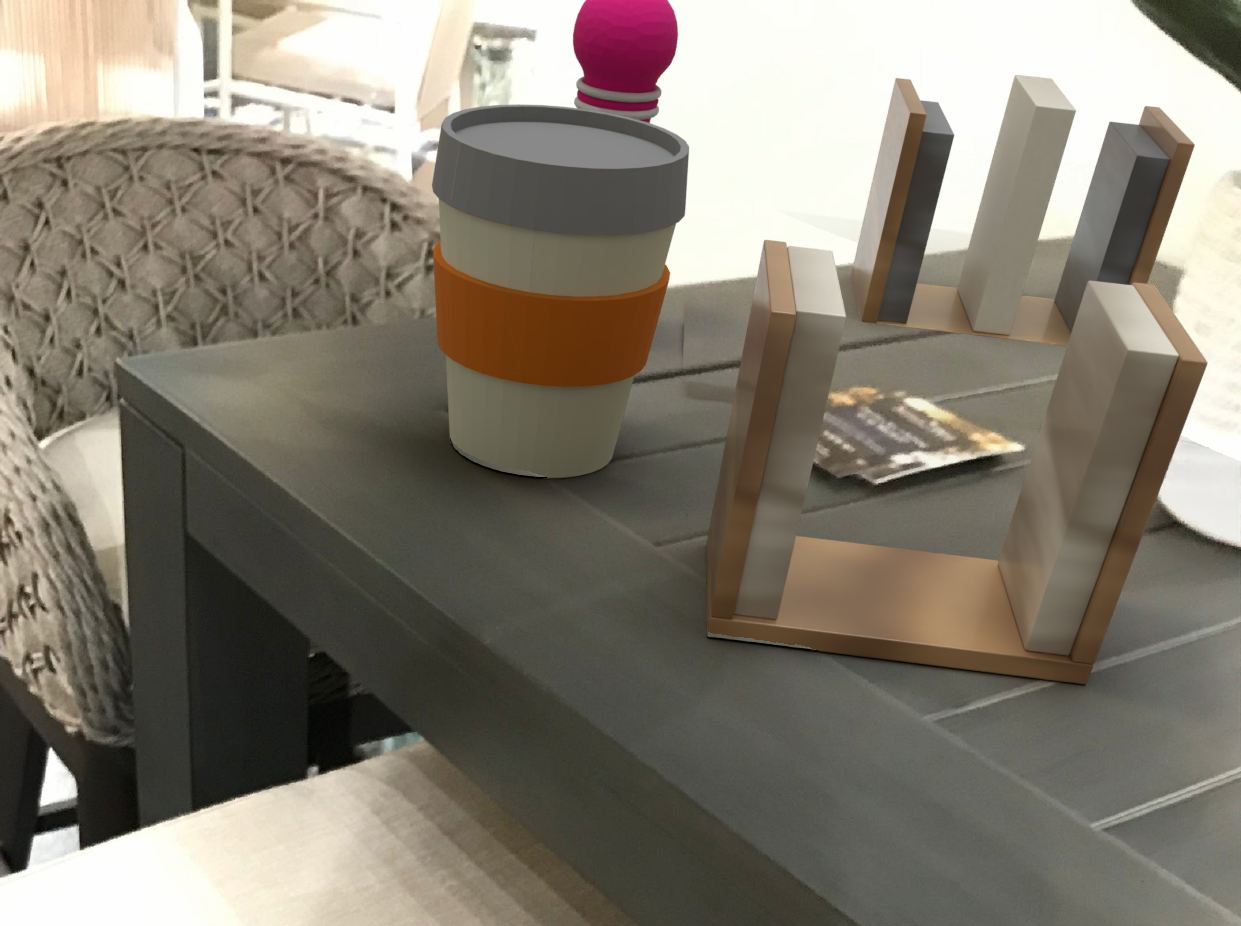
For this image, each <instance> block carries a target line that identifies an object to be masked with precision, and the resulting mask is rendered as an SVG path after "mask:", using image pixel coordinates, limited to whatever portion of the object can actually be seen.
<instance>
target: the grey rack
mask: <svg viewBox="0 0 1241 926" xmlns="http://www.w3.org/2000/svg"><path fill="white" fill-rule="evenodd" d="M891 92H892V93H891V96H890V99H889V100H890V101H889V105H888V109H887V113H886V117H885V123H884V127H883V131H882V137H881V139H880V140H881V141H880V144H879V145H880V146H879V150H878V153H877V159H876V162H875V167H874V172H873V176H872V179H871V180H872V181H871V184H870V189H869V193H868V198H867V202H866V206H865V211H864V216H863V220H862V224H861V228H860V233H859V237H858V242H857V247H856V251H855V255H854V260H853V264H852V268H851V273H850V279H851V283H852V288H853V293H854V297H855V301H856V306H857V310H858V315H859V318H860V319H859V320H860V322H861V323H868V324H877V325H886V326H893V327H901V328H902V327H903V328H912V329H918V330H919V329H920V330H929V331H937V332H945V333H954V334H962V335H971V336H977V337H987V338H997V339H1003V340H1005V339H1006V340H1012V341H1013V340H1014V341H1022V342H1023V341H1024V342H1029V343H1037V344H1038V343H1039V344H1047V345H1055V346H1065V347H1067V345H1068V342H1069V339H1070V336H1071V333H1072V329H1073V326H1074V323H1075V320H1076V317H1077V314H1078V311H1079V307H1080V304H1081V301H1082V298H1083V295H1084V292H1085V289H1086V286H1087V283H1088V281H1098V282H1107V283H1116V284H1124V285H1132V283H1143V284H1149V280H1150V278H1151V275H1152V271H1153V268H1154V266H1155V264H1156V259H1157V256H1158V254H1159V251H1160V248H1161V245H1162V243H1163V240H1164V237H1165V233H1166V230H1167V227H1168V224H1169V221H1170V219H1171V216H1172V213H1173V210H1174V208H1175V205H1176V201H1177V198H1178V195H1179V193H1180V190H1181V187H1182V183H1183V181H1184V178H1185V175H1186V172H1187V169H1188V166H1189V163H1190V161H1191V157H1192V155H1193V151H1194V148H1195V146H1196V145H1195V143H1194V142H1193V141H1192V139H1190V137H1188V136H1187V134H1185V132H1184V131H1182V129H1181V128H1180V127H1179V126H1178V125H1177V124H1176V123H1175V122H1174V121H1173V120H1172V119H1171V118H1170V117H1169V116H1168V115H1167V114H1166V112H1164V111H1163V109H1162V108H1161V107H1159V106H1150V105H1145V106H1144V107H1143V111H1142V114H1141V117H1140V119H1139V123H1138V124H1134V123H1126V122H1117V121H1109V122H1108V125H1107V128H1106V131H1105V135H1104V138H1103V141H1102V144H1101V147H1100V151H1099V155H1098V157H1097V161H1096V164H1095V166H1094V171H1093V174H1092V177H1091V180H1090V183H1089V185H1088V186H1089V187H1088V190H1087V193H1086V196H1085V199H1084V203H1083V206H1082V209H1081V212H1080V216H1079V219H1078V221H1077V225H1076V229H1075V232H1074V235H1073V237H1072V242H1071V244H1070V248H1069V252H1068V255H1067V258H1066V261H1065V264H1064V268H1063V270H1062V274H1061V278H1060V281H1059V284H1058V287H1057V290H1056V294H1055V297H1054V298H1050V297H1049V298H1048V297H1040V296H1033V295H1032V296H1031V295H1023V294H1022V296H1021V299H1020V302H1019V306H1018V309H1017V313H1016V316H1015V319H1014V323H1013V326H1012V330H1011V333H1010V335H1001V334H992V333H984V332H975V331H973V329H972V326H971V324H970V321H969V318H968V316H967V313H966V311H965V308H964V305H963V303H962V300H961V298H960V295H959V292H958V290H957V288H958V287H954V286H945V285H937V284H930V283H929V284H928V283H920V282H918V281H919V278H920V277H919V276H920V274H921V273H920V272H921V268H922V264H923V261H924V257H925V252H926V250H927V245H928V241H929V237H930V233H931V230H932V225H933V221H934V217H935V214H936V210H937V206H938V202H939V197H940V194H941V190H942V185H943V182H944V178H945V174H946V170H947V167H948V162H949V158H950V155H951V150H952V146H953V142H954V138H955V134H954V131H953V129H952V127H951V125H950V123H949V121H948V119H947V117H946V115H945V113H944V111H943V109H942V107H941V105H940V103H939V102H938V101H931V100H921V99H920V96H919V95H918V93H917V90H916V88H915V85H914V84H913V82H912V80H911V79H909V78H901V77H896V78H895V79H894V83H893V87H892V91H891Z"/></svg>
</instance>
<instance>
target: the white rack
mask: <svg viewBox="0 0 1241 926" xmlns="http://www.w3.org/2000/svg"><path fill="white" fill-rule="evenodd" d="M762 244H763V245H762V247H761V248H762V249H761V254H760V260H759V264H758V270H757V275H756V280H755V285H754V291H753V296H752V300H751V301H752V302H751V306H750V312H749V317H748V322H747V327H746V332H745V333H746V334H745V338H744V341H743V342H744V343H743V348H742V354H741V357H740V359H741V360H740V363H739V368H738V369H739V370H738V375H737V380H736V384H735V389H734V390H735V392H734V395H733V400H732V406H731V411H730V417H729V422H728V427H727V431H726V432H727V433H726V437H725V442H724V449H723V454H722V458H721V462H720V463H721V464H720V469H719V474H718V479H717V485H716V490H715V496H714V500H713V505H712V510H711V516H710V522H709V527H708V533H707V538H706V543H705V544H706V545H705V547H706V548H705V550H706V551H705V553H706V554H705V555H706V558H705V559H706V561H705V563H706V564H705V565H706V573H705V574H706V575H705V576H706V577H705V578H706V581H707V584H706V631H707V630H708V632H710V633H713V634H722V635H727V636H732V637H744V638H753V639H755V640H764V641H770V642H774V643H776V642H778V643H784V644H788V645H795V644H797V645H801V646H805V647H810V648H812V649H816V650H819V651H818V652H823V653H831V654H838V655H848V656H854V657H861V658H871V659H877V660H878V659H879V660H887V661H895V662H902V663H911V664H918V665H927V666H935V667H942V668H943V667H944V668H950V669H951V668H952V669H958V670H967V671H975V672H984V673H991V674H1000V675H1007V676H1013V677H1014V676H1015V677H1023V678H1031V679H1040V680H1047V681H1053V682H1054V681H1055V682H1063V683H1069V684H1079V685H1087V684H1088V681H1089V679H1090V677H1091V673H1092V671H1093V668H1094V664H1095V663H1096V660H1097V658H1098V655H1099V652H1100V650H1101V647H1102V644H1103V641H1104V639H1105V636H1106V634H1107V632H1108V629H1109V627H1110V623H1111V621H1112V618H1113V615H1114V612H1115V611H1116V607H1117V604H1118V602H1119V600H1120V596H1121V594H1122V591H1123V588H1124V587H1125V585H1126V581H1127V578H1128V575H1129V573H1130V570H1131V568H1132V565H1133V562H1134V561H1135V557H1136V555H1137V552H1138V549H1139V546H1140V544H1141V541H1142V539H1143V536H1144V534H1145V531H1146V528H1147V526H1148V523H1149V520H1150V517H1151V515H1152V512H1153V509H1154V507H1155V504H1156V502H1157V498H1158V496H1159V494H1160V491H1161V488H1162V486H1163V483H1164V480H1165V478H1166V474H1167V472H1168V469H1169V467H1170V465H1171V462H1172V459H1173V456H1174V454H1175V452H1176V448H1177V446H1178V443H1179V441H1180V438H1181V435H1182V433H1183V431H1184V427H1185V425H1186V422H1187V420H1188V417H1189V414H1190V412H1191V409H1192V406H1193V404H1194V401H1195V399H1196V395H1197V393H1198V391H1199V388H1200V385H1201V383H1202V381H1203V377H1204V375H1205V372H1206V370H1207V369H1206V368H1207V366H1208V361H1207V359H1206V358H1205V356H1204V355H1203V353H1202V352H1201V351H1200V350H1201V349H1199V347H1198V346H1197V345H1196V343H1195V341H1194V340H1193V338H1192V337H1191V336H1190V334H1189V333H1188V331H1187V330H1186V329H1185V327H1184V326H1183V324H1182V323H1181V321H1180V320H1179V319H1178V317H1177V316H1176V314H1175V313H1174V311H1173V310H1172V308H1171V307H1170V305H1169V304H1168V302H1167V300H1166V299H1165V298H1164V297H1163V295H1162V294H1161V292H1160V290H1159V289H1158V288H1157V286H1156V285H1155V284H1151V283H1147V284H1143V283H1132V285H1124V284H1116V283H1107V282H1098V281H1088V283H1087V286H1086V289H1085V292H1084V295H1083V298H1082V301H1081V304H1080V307H1079V311H1078V314H1077V317H1076V320H1075V323H1074V326H1073V329H1072V333H1071V336H1070V339H1069V342H1068V345H1067V346H1066V348H1065V351H1064V355H1063V358H1062V361H1061V364H1060V367H1059V370H1058V373H1057V377H1056V379H1055V383H1054V386H1053V389H1052V391H1051V396H1050V397H1049V398H1050V399H1049V402H1048V405H1047V408H1046V411H1045V415H1044V417H1043V420H1042V424H1041V427H1040V429H1039V433H1038V437H1037V439H1036V443H1035V446H1034V449H1033V452H1032V455H1031V458H1030V461H1029V464H1028V467H1027V471H1026V474H1025V476H1024V480H1023V482H1022V487H1021V489H1020V493H1019V495H1018V499H1017V502H1016V504H1015V508H1014V511H1013V514H1012V518H1011V521H1010V524H1009V526H1008V530H1007V532H1006V533H1007V534H1006V535H1005V540H1004V543H1003V545H1002V549H1001V552H1000V555H999V559H998V560H997V559H989V558H982V557H981V558H980V557H972V556H966V555H965V556H964V555H954V554H948V553H941V552H940V553H939V552H932V551H923V550H915V549H907V548H901V547H900V548H899V547H892V546H891V547H890V546H882V545H874V544H866V543H859V542H858V543H857V542H850V541H841V540H834V539H833V540H832V539H825V538H819V537H818V538H817V537H808V536H801V535H798V530H799V526H800V521H801V517H802V513H803V509H804V504H805V501H806V496H807V492H808V487H809V483H810V478H811V474H812V470H813V465H814V461H815V457H816V451H817V447H818V443H819V439H820V435H821V429H822V427H823V426H822V425H823V421H824V417H825V412H826V408H827V404H828V399H829V395H830V392H831V386H832V382H833V377H834V373H835V368H836V364H837V360H838V356H839V351H840V347H841V342H842V338H843V334H844V330H845V325H846V320H847V313H846V309H845V304H844V300H843V295H842V294H843V293H842V289H841V285H840V281H839V276H838V275H839V274H838V271H837V266H836V261H835V257H834V252H833V251H832V250H831V249H830V250H829V249H821V248H812V247H803V246H797V245H796V246H795V245H788V244H787V242H786V241H779V240H771V239H764V240H763V242H762ZM707 619H708V620H707ZM707 627H708V628H707Z"/></svg>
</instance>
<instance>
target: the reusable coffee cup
mask: <svg viewBox="0 0 1241 926" xmlns="http://www.w3.org/2000/svg"><path fill="white" fill-rule="evenodd" d="M440 125H441V126H440V132H439V137H438V145H437V151H436V156H435V163H434V169H433V176H432V182H431V188H432V192H433V194H434V195H435V196H436V197H437V198H438V213H439V235H440V236H439V237H440V240H439V241H438V242H437V243H436V244H435V245H434V247H433V249H432V257H433V259H432V260H433V277H434V278H433V279H434V298H435V299H434V300H435V301H434V302H435V318H436V320H435V321H436V339H437V346H438V347H439V349H440V350H441V352H442V353H443V354H444V355H445V364H446V365H445V366H446V386H447V407H448V409H447V411H448V427H449V431H448V432H449V439H450V438H451V440H452V441H453V443H454V444H455V445H457V446H458V448H460V449H462V451H463V452H466V453H468V454H470V455H471V456H475V457H476V458H478V459H480V460H483V461H486V462H489V463H490V464H494V465H498V466H501V467H505V468H511V469H518V470H524V471H530V472H532V473H535V474H538V475H543V476H545V477H547V478H546V479H564V478H565V479H566V478H573V477H579V476H584V475H588V474H591V473H594V472H597V471H599V470H601V469H603V468H604V467H605V466H607V465H609V463H610V462H611V461H612V459H613V456H614V453H615V449H616V446H617V442H618V439H619V434H620V432H621V431H620V430H621V427H622V424H623V420H624V416H625V413H626V409H627V406H628V401H629V398H630V395H631V390H632V387H633V383H634V380H635V376H636V375H637V374H638V373H640V372H641V371H642V370H643V369H644V368H645V367H646V365H647V362H648V359H649V354H650V351H651V347H652V345H653V341H654V336H655V332H656V329H657V325H658V322H659V318H660V315H661V311H662V309H663V303H664V300H665V297H666V294H667V289H668V285H669V282H670V279H671V278H670V277H671V272H670V269H669V267H668V265H667V264H666V262H667V257H668V255H669V251H670V248H671V243H672V241H673V236H674V233H675V229H676V225H677V224H678V223H680V222H681V221H682V220H683V218H684V217H685V215H686V205H687V191H688V190H687V189H688V174H689V157H690V146H689V143H687V141H686V140H685V139H684V138H683V137H681V136H680V135H678V134H677V133H675V132H673V131H671V130H669V129H666V128H664V127H662V126H659V125H656V124H653V123H651V122H650V123H648V122H644V121H640V120H637V119H633V118H630V117H625V116H620V115H616V114H611V113H605V112H599V111H593V110H587V109H579V108H577V107H570V106H558V105H544V104H495V105H484V106H477V107H470V108H464V109H462V110H461V109H460V110H458V111H455V112H452V113H450V115H447V116H445V118H444V119H443V120H442V122H441V124H440Z"/></svg>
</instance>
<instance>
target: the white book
mask: <svg viewBox="0 0 1241 926" xmlns="http://www.w3.org/2000/svg"><path fill="white" fill-rule="evenodd" d="M1076 113H1077V109H1076V108H1075V107H1074V105H1073V104H1072V102H1071V101H1070V100H1069V98H1068V97H1067V96H1066V95H1065V94H1064V92H1063V91H1062V90H1061V88H1060V87H1059V86H1058V85H1057V84H1056V82H1055V81H1054V79H1053V78H1050V77H1041V76H1033V75H1022V74H1014V77H1013V81H1012V83H1011V88H1010V91H1009V95H1008V98H1007V101H1006V106H1005V109H1004V113H1003V117H1002V121H1001V124H1000V128H999V132H998V135H997V140H996V143H995V147H994V150H993V154H992V158H991V162H990V166H989V169H988V172H987V177H986V179H985V184H984V187H983V192H982V196H981V199H980V202H979V205H978V209H977V214H976V217H975V221H974V225H973V229H972V232H971V236H970V240H969V244H968V247H967V251H966V254H965V257H964V258H965V259H964V262H963V265H962V269H961V273H960V277H959V280H958V284H957V287H956V288H957V290H958V292H959V295H960V298H961V300H962V303H963V305H964V308H965V311H966V313H967V316H968V318H969V321H970V324H971V326H972V329H973V331H975V332H984V333H992V334H1001V335H1010V333H1011V330H1012V326H1013V323H1014V319H1015V316H1016V313H1017V309H1018V306H1019V302H1020V299H1021V296H1022V295H1023V292H1024V289H1025V285H1026V282H1027V278H1028V276H1029V271H1030V268H1031V266H1032V261H1033V258H1034V255H1035V251H1036V248H1037V244H1038V242H1039V237H1040V234H1041V231H1042V228H1043V224H1044V222H1045V221H1044V220H1045V217H1046V214H1047V210H1048V207H1049V204H1050V201H1051V197H1052V193H1053V191H1054V187H1055V183H1056V181H1057V178H1058V177H1057V176H1058V173H1059V170H1060V166H1061V163H1062V160H1063V157H1064V153H1065V150H1066V146H1067V143H1068V139H1069V136H1070V133H1071V129H1072V126H1073V123H1074V119H1075V116H1076Z"/></svg>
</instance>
